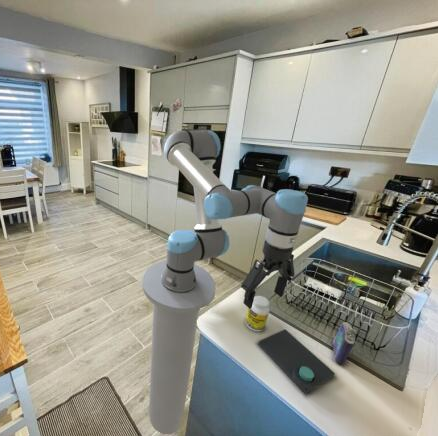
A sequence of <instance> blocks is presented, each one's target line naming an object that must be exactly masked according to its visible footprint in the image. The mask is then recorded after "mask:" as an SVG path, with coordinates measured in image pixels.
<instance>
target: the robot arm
mask: <svg viewBox="0 0 438 436" xmlns="http://www.w3.org/2000/svg"><path fill="white" fill-rule="evenodd" d="M163 148H164V149H163V151H164V156H165V158H166V160H167V161H168V163H169V164H170V165H171V166H173V167H176V168H177V169H178V170H179V171H180V173H181V174H182V175H183V176H184V177H185V178H186V180H187V181H188V182H189V183H190V184H191V185H192V186H193V195H194V202H195V203H194V205H195V214H196V225H195V226H194V228H193V230H194V231H193V230H190V229H178V230H175V231H173V232H171V234H169V236H168V239H167V244H166V261H167V263H166V267H165V269H164V271H163V273H162V276H161V282H162V284H163V286H164V287H165V288H166V289H168V290H170V291H172V292H176V293H186V292H189V291H191V290H193V289H194V288H195V286H196V276H195V272H194V264H195V262H198V261H199V262H200V261H203V260H208V259H212V258H213V259H214V258H218V257H220V256H223V255H225V254H226V253H227V252H228V250H229V248H230V236H229V234H228V232H227V231H226V230H225V229H223V225H222V224H221V223H219V222H218V220H226V219H230V218H236V217H243V216H250V215H255V214H257V215H260V216H262V217H264V218H266V219H269V223H268V227H267V230H266V234H265V238H264V242H263V248H262V254H263V258H262V260H259V259H255V260H254V262H253V265H252V266H251V269H250V270H249V272H248V274H247V275H246V277H245V279H244V280H243V282H242V284H241V285H240V288H241V289H243V290H244V299H243V305H245V306H246V307H247V308H248V309H251V308H252V304H253V300H254V297H255V296H256V293H257V291H255V290H257V288H258V287H259V286H260V285H261V283H263V281H264V280H265V278H266V277H268V276H270V275H271V274H272V273H274V272H277V271H278V273H279V276H278V277H277V281H276V284H275V287H274V291H273V292H274V293H275V294H276V295H277V296H279V297H280V298H282V297H283V296H284V293H285V290H286V287H287V283H288V281H289V282H291V281H293V278H294V276H295V267H294V266H295V265H294V258H295V254H293V251H294V246H295V244H296V242H297V238H298V233H299V230H300V227H301V225H302V221H303V219H304V216H305V214H306V212H307V209H306V208H307V205H308V202H309V201H308V200H309V197H308V195H307V194H306V193H305V192H302V191H300V190H294V189H289V188H284V189H279V190H278V191H276V192H274V191H272V190H268V189H266V188H264V187H262V186H259V185H254V184H249V185H247V186H246V187H243V188H242V189H241V190H234V191H233V190H230V188H229V187H228V186H227V185H225V183H224V182H223V181H221V180H220V179H219V177H217V175H216V174H215V173H214V170H213V169H214V168H213V165H214V164H215V163H216V162H217V161H216V160H217V159H216V158H218V156H219V155H220V151H221V141H220V138H219V136H218V135H217V133H215V131H213V130H207V129H200V130H199V129H198V130H197V129H196V130H184V129H183V130H178V131H177V130H176V131H175V132H173V133H171V134H170V135H169V136H168V138H167V139H166V141H165V143H164V147H163Z"/></svg>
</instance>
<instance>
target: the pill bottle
mask: <svg viewBox="0 0 438 436" xmlns="http://www.w3.org/2000/svg"><path fill="white" fill-rule="evenodd" d="M269 306H270V301H269V300H268V299H267V298H266V297H265V296H263V295H255V297H254V300H253V304H252V308H251V309H249V308H248V309H247V313H246V317H245V321H244V322H245V325H246V326H247V327H248V328H249V329H250V330H252V331H254V332H262V331H263V330H264V329H265V326H266V324H267V320H268V318H269V314H270V307H269Z"/></svg>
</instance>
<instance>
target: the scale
mask: <svg viewBox="0 0 438 436" xmlns="http://www.w3.org/2000/svg"><path fill="white" fill-rule="evenodd" d="M257 345H258V346H259V347H260V348H261V350H263V352H264V353H266V355H267V356H268V357H269V358H270V360H272V361H273V362H274V363H275V364H276V365H277V367H279V369H280V370H281V371H282V372H283V373H284V375H286V376H287V377H288V378H289V379H290V380H291V381H292V383H294V384H295V386H296V387H297V388H298V389H299V390H300V391H301V392H302V393H303V394H304V395H306V394H308V393H310V392H312V391H315V390H316V389H318V387H319V386H321V385H323V384H325V383H326V382H327V381H329V380H331V379H332V378H334V377H335V375H336V372H334V371H333V370H332V369H331V368H330V367H328V365H326V364H325V363H324V362H323V361H322V360H321V359H320V358H319V357H317V356H316V355H315V354H314V353H313V352H311V350H309V348H307V347H306V346H305V344H303V343H302V342H301V341H299V340H298V339H297V338H296V337H295V336H293V334H292V333H290V331H288V330H287V329H283V330H281V331H279V332H276V333H274V334H272V335H269V336H268V337H265V338H263V339H260V340H259V341H258V343H257ZM302 366H305V367H308V368H309V369H311V370H312V372H313V373H314V377H313V379H312V381H310V382H307V381H305V380H303V379H302V378H301V377H300V375H299V370H300V368H301V367H302Z"/></svg>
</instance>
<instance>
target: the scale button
mask: <svg viewBox="0 0 438 436" xmlns="http://www.w3.org/2000/svg"><path fill="white" fill-rule="evenodd" d="M299 375H300V377H301V378H302V379H303V380H305V381H307V382H310V381H312V379H313V377H314V373H313V372H312V370H311V369H309V368H308V367H305V366H302V367H301V368H300V370H299Z"/></svg>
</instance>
